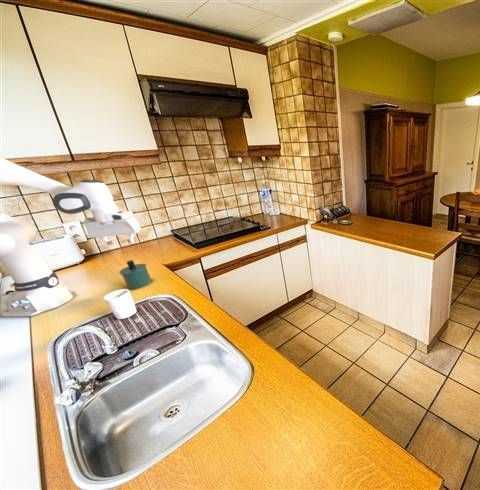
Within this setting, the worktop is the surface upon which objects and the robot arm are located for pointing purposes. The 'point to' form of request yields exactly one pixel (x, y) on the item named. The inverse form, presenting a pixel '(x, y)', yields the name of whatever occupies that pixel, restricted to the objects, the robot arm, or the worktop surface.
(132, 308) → the white cup
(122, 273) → the lid
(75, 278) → the worktop surface
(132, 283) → the pot
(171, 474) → the worktop surface
